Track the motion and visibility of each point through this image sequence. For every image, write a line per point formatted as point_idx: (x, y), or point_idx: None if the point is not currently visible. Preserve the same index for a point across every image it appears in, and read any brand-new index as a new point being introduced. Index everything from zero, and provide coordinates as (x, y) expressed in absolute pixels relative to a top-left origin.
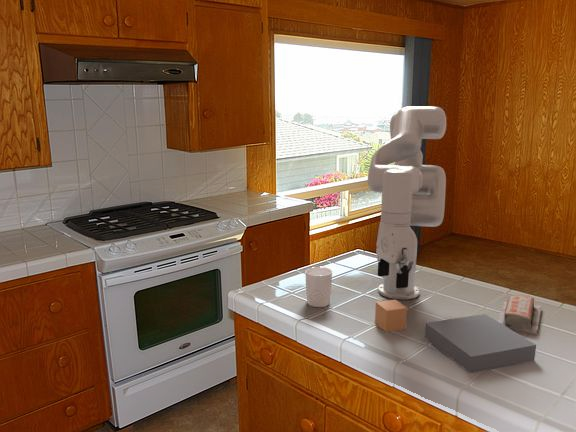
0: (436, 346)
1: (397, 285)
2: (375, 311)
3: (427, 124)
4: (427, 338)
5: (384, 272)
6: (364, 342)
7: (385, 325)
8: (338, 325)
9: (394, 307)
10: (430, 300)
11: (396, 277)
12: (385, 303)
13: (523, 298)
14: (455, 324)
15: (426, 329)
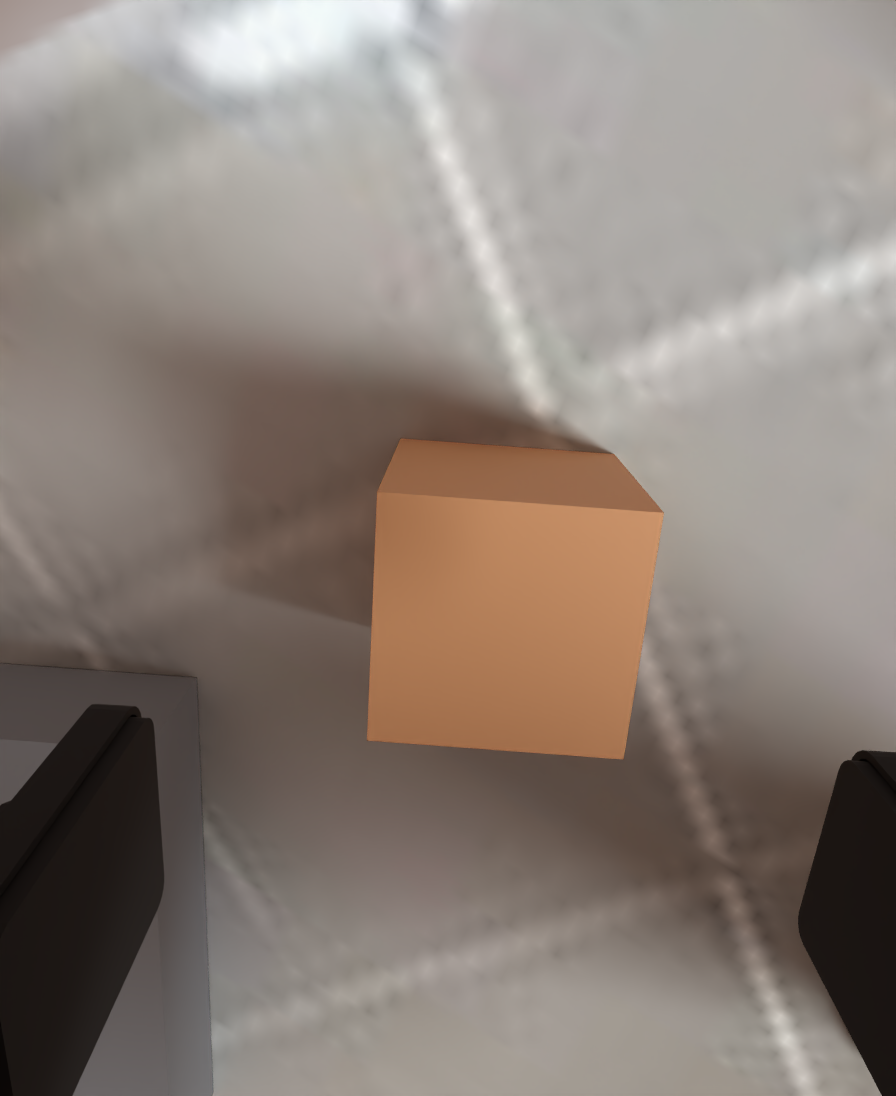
0: (31, 666)
1: (70, 738)
2: (634, 480)
3: None
4: (154, 678)
5: (852, 901)
6: (265, 110)
7: (403, 451)
8: (721, 30)
9: (426, 626)
10: (756, 1074)
11: (13, 845)
12: (572, 596)
13: None
14: None
15: (152, 717)
